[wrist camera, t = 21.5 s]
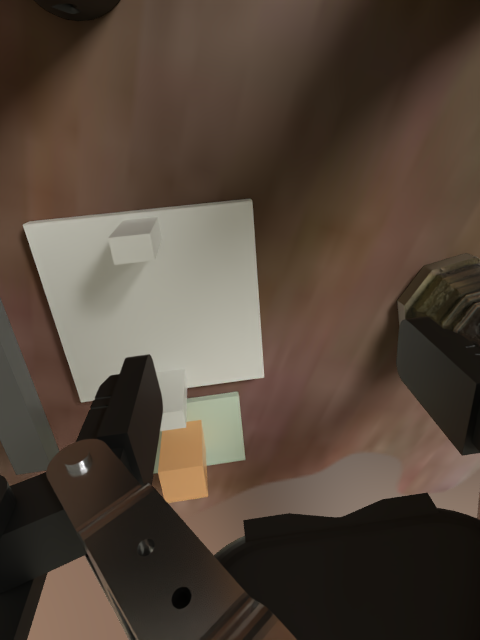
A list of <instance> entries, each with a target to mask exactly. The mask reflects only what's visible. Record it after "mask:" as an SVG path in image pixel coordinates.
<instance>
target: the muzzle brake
mask: <svg viewBox="0 0 480 640" xmlns="http://www.w3.org/2000/svg"><path fill="white" fill-rule="evenodd" d="M34 1H35V2H36V3H37V4H39V5H40V6H41V7H42V8H44V9H46V10H47V11H49V12H51V13H52V14H54V15H57V16H59V17H62V18H64V19H68V20H75V21H83V20H92V19H95V18H97V17H100V16H102V15H104V14H106V13H107V12H109V11H110V10H112V9H113V7H114V6H115V5H116V4H117V3H118V2H119V1H120V0H34Z"/></svg>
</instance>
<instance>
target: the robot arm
mask: <svg viewBox="0 0 480 640" xmlns="http://www.w3.org/2000/svg"><path fill="white" fill-rule="evenodd" d="M396 364H397V370H398V374H399V376H400V378H401V380H402V381H403V383H404V384H405V385H406V386H407V388H408V389H409V390H410V391H411V393H412V394H413V395H414V396H415V397H416V399H417V400H418V401H419V402H420V404H421V405H422V406H423V407H424V409H425V410H426V411H427V412H428V414H429V415H430V416H431V417H432V419H433V420H434V421H435V422H436V424H437V425H438V426H439V427H440V429H441V430H442V431H443V432H444V434H445V435H446V436H447V437H448V439H449V440H450V441H451V442H452V444H453V445H454V446H455V447H456V449H457V450H458V451H459V452H460V454H461V455H469V454H475V453H480V348H478V347H475V345H474V344H473V343H472V342H471V341H469V340H468V339H467V338H465V337H464V336H462V335H460V334H458V333H455V332H453V331H450V330H448V329H443V328H442V327H441V326H440V325H438V324H437V323H436V322H435V321H433V320H432V319H431V318H430V317H427V316H425V317H418V318H411V319H404V320H402V321H401V323H400V326H399V336H398V348H397V360H396ZM162 415H163V401H162V395H161V390H160V387H159V383H158V379H157V375H156V371H155V367H154V363H153V359H152V357H151V355H150V354H147V355H140V356H133V357H126V358H125V360H124V363H123V366H122V368H121V371H120V374H116V375H110V376H109V377H108V378H107V379H106V380H105V381H104V382H103V383H102V384H101V385H100V386H99V389H98V391H97V393H96V396H95V400H93V403H92V405H91V410H89V412H88V415H87V417H86V419H85V422H84V424H83V426H82V429H81V431H80V433H79V436H78V438H77V440H76V442H75V443H72V444H70V445H68V446H67V447H65V448H63V449H62V450H61V451H59V452H58V453H57V454H56V455H55V456H54V457H53V458H52V460H51V461H50V463H49V465H48V467H47V471H46V472H45V473H43V474H40V475H38V476H35V477H33V478H30V479H28V480H25V481H22V482H20V483H17V484H15V485H12V486H9V484H8V482H7V481H6V479H5V478H4V477H3V476H1V475H0V640H27V638H28V635H29V631H30V628H31V625H32V621H33V618H34V615H35V612H36V608H37V605H38V602H39V599H40V595H41V592H42V589H43V585H44V582H45V579H46V575H47V573H48V572H49V571H51V570H53V569H56V568H58V567H60V566H62V565H64V564H67V563H69V562H71V561H73V560H75V559H77V558H79V557H82V556H85V557H86V559H87V561H88V563H89V565H90V567H91V569H92V571H93V572H94V574H95V576H96V578H97V580H98V582H99V584H100V585H101V587H102V589H103V591H104V593H105V595H106V597H107V599H108V600H109V602H110V604H111V606H112V608H113V610H114V612H115V613H116V615H117V617H118V619H119V621H120V623H121V625H122V627H123V629H124V631H125V633H126V635H127V637H128V639H129V640H480V493H479V503H478V513H477V518H474V517H471V516H469V515H466V514H463V513H459V512H456V511H451V510H446V509H441V508H436V506H435V504H434V503H433V501H432V499H431V498H430V496H429V495H428V493H422V494H415V495H409V496H402V497H395V498H390V499H383V500H380V501H378V502H375V503H373V504H371V505H369V506H366V507H364V508H362V509H359V510H357V511H355V512H353V513H350V514H348V515H346V516H343V517H337V518H334V517H324V516H311V515H301V514H290V513H289V514H282V515H275V516H269V517H262V518H255V519H249V520H244V530H245V536H243V537H241V538H239V539H237V540H235V541H233V542H231V543H230V544H228V545H226V546H225V547H224V548H222V549H221V550H220V551H219V552H217V553H216V554H215V555H213V554H212V553H211V552H210V551H209V550H208V549H207V547H206V546H205V545H204V544H203V543H202V542H201V541H200V540H199V538H198V537H197V536H196V535H195V534H194V533H193V532H192V530H191V529H190V528H189V527H188V526H187V525H186V523H185V522H184V521H183V520H182V519H181V518H180V517H179V516H178V514H177V513H176V512H175V511H174V510H173V509H172V508H171V506H170V505H169V504H168V503H167V502H166V501H165V500H164V498H163V497H162V496H161V495H160V494H159V493H158V492H157V490H156V489H155V488H154V487H153V486H152V479H153V473H154V466H155V460H156V454H157V447H158V441H159V434H160V428H161V421H162Z"/></svg>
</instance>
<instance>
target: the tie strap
mask: <svg viewBox="0 0 480 640" xmlns="http://www.w3.org/2000/svg"><path fill="white" fill-rule="evenodd" d="M0 441H1V443H2V445H3V447H4V449H5V452H6V454H7V456H8V458H9V460H10V462H11V464H12V466H13V469H14V471H15V473H16V475H18V474H25V473H32V472H39V471H45V470H47V467H48V465H49V463H50V461H51V460H52V458H53V457H54V456H55V455H56V454H57V453H58V452H59V449H58V446H57V444H56V441H55V438H54V436H53V433H52V431H51V428H50V425H49V423H48V420H47V418H46V415H45V412H44V410H43V407H42V405H41V402H40V400H39V397H38V394H37V392H36V389H35V387H34V384H33V381H32V379H31V376H30V374H29V371H28V368H27V366H26V363H25V361H24V358H23V356H22V353H21V350H20V348H19V345H18V343H17V340H16V337H15V335H14V332H13V330H12V327H11V324H10V322H9V319H8V317H7V314H6V312H5V309H4V306H3V304H2V301H1V299H0Z"/></svg>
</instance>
